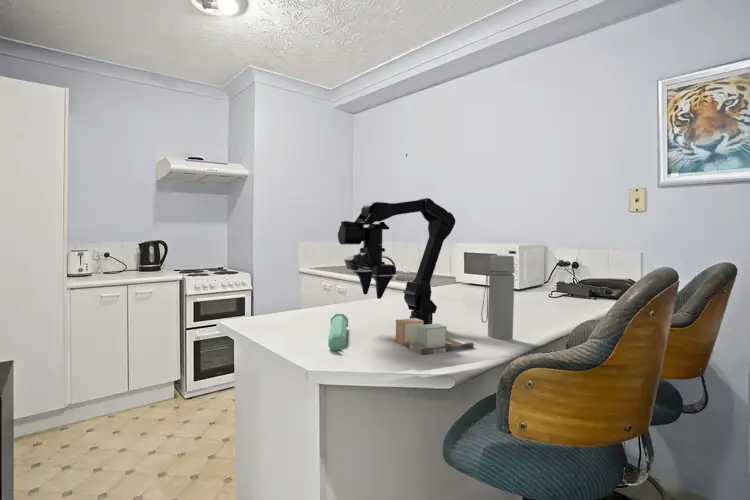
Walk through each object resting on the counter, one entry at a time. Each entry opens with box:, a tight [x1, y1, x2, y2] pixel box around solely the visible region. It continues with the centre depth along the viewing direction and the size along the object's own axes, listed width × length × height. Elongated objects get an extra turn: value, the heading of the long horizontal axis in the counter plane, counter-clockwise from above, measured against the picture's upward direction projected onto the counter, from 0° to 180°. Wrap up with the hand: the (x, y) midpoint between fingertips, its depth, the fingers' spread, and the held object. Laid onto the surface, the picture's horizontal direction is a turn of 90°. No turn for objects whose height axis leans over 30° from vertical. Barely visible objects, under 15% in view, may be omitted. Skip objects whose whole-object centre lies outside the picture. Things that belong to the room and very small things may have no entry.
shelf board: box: [393, 337, 475, 356], centre depth 114 cm, size 16×15×3 cm
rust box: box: [395, 318, 424, 346], centre depth 116 cm, size 4×6×6 cm, turn 117°
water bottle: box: [480, 254, 516, 341], centre depth 124 cm, size 9×8×25 cm
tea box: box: [417, 323, 448, 349], centre depth 109 cm, size 4×6×6 cm, turn 117°
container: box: [327, 313, 349, 352], centre depth 122 cm, size 6×6×25 cm
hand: (372, 296), depth 127 cm, fingers open, 9 cm apart
